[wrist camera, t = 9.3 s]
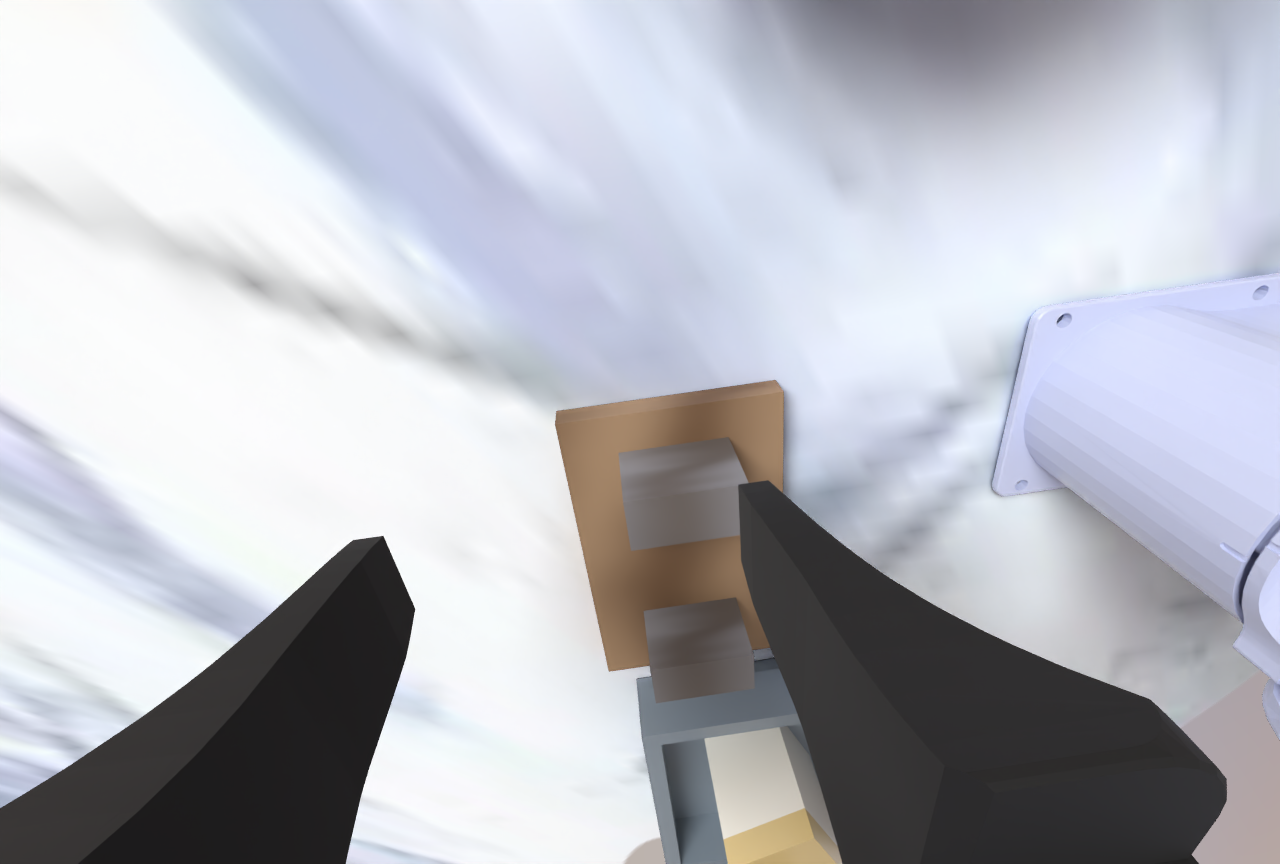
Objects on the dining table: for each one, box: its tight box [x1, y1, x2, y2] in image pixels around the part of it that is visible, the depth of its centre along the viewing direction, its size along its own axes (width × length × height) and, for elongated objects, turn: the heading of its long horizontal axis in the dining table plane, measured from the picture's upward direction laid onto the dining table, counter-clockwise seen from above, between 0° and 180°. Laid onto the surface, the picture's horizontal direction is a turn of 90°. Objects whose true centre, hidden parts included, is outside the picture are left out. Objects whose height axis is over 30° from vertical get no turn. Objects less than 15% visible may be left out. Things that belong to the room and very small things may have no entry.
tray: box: [637, 658, 819, 864], centre depth 30 cm, size 12×13×3 cm
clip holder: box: [555, 380, 784, 703], centre depth 22 cm, size 8×13×4 cm, turn 7°
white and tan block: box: [704, 726, 842, 864], centre depth 28 cm, size 4×5×6 cm
